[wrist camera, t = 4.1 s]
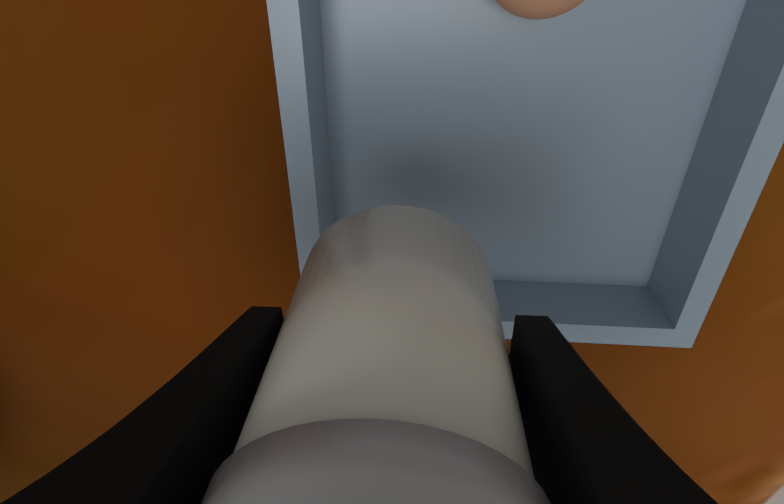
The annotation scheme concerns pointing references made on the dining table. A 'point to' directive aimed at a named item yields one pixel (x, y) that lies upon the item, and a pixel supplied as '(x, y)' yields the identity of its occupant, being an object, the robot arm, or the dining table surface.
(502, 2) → the ball
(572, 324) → the tray
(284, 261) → the dining table surface
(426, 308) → the shaker
